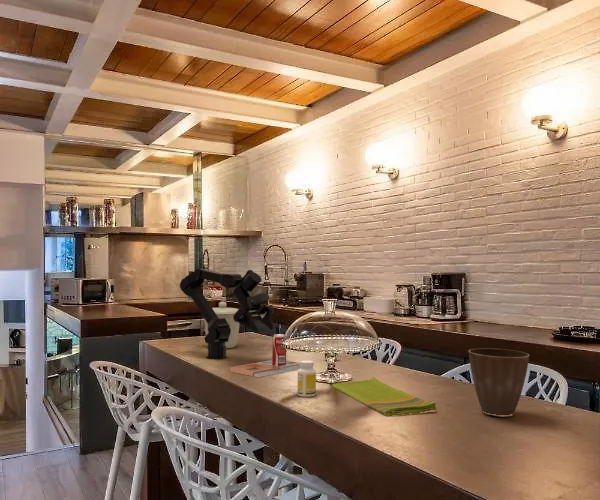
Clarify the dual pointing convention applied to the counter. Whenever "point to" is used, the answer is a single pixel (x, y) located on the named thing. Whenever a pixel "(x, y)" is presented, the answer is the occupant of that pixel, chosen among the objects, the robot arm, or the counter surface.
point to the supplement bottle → (306, 379)
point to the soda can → (278, 351)
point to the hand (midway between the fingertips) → (265, 330)
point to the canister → (228, 315)
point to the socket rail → (265, 368)
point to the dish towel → (384, 397)
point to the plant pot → (498, 378)
